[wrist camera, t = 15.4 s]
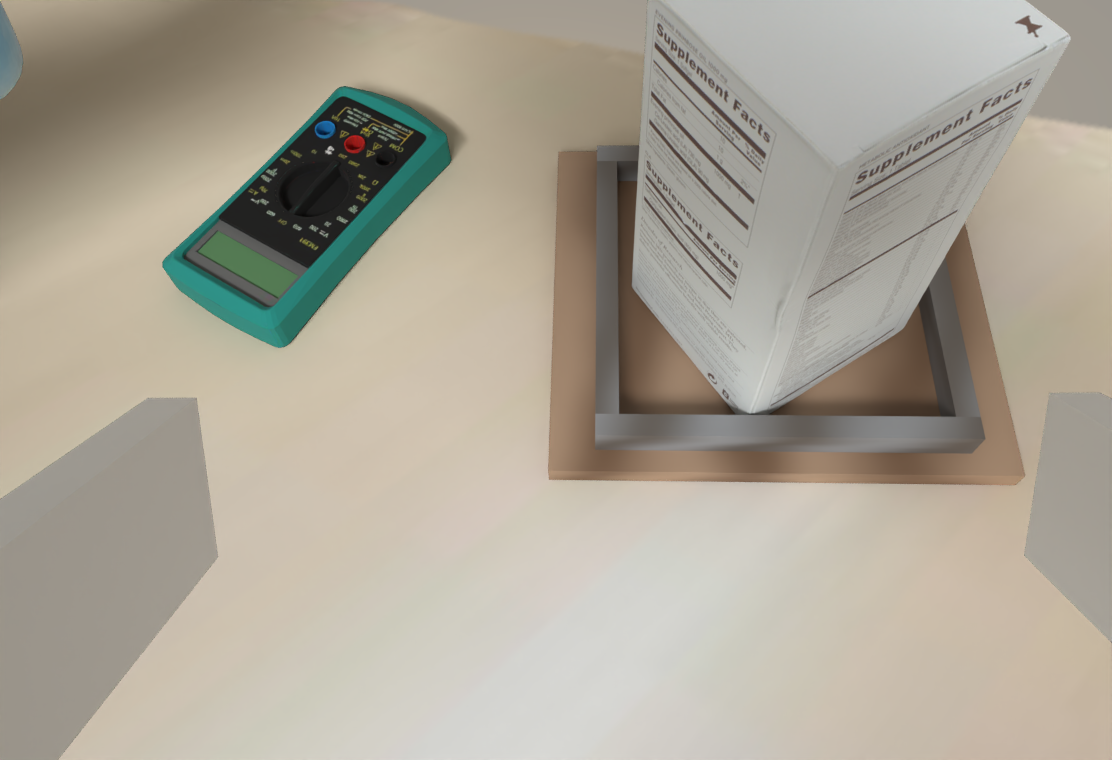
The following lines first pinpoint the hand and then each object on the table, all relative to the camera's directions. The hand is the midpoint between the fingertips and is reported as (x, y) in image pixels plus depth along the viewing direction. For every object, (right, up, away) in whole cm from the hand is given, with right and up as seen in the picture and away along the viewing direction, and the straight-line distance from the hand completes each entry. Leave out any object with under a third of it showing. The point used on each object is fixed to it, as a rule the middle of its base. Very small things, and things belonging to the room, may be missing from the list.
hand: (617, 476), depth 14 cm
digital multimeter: (-13, +10, +33) cm, 37 cm away
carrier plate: (+9, +5, +29) cm, 31 cm away
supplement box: (+9, +5, +28) cm, 30 cm away
